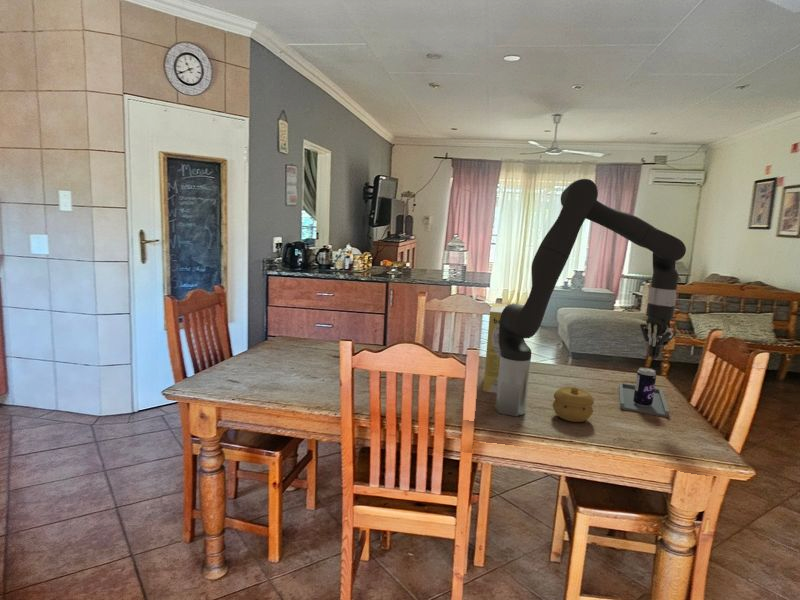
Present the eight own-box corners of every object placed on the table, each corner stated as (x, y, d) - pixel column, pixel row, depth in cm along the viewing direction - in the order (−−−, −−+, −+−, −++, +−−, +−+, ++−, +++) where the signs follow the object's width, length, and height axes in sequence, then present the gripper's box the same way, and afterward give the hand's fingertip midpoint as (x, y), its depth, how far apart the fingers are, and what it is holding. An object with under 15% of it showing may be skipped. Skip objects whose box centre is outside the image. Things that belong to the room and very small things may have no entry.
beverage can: (641, 408, 164) (646, 372, 162) (629, 402, 169) (633, 367, 167) (655, 407, 165) (660, 372, 163) (643, 401, 171) (647, 367, 169)
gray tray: (668, 417, 159) (669, 411, 159) (619, 408, 164) (620, 403, 164) (660, 394, 181) (661, 389, 181) (618, 387, 186) (619, 382, 186)
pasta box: (486, 375, 192) (492, 303, 187) (514, 379, 189) (521, 305, 185) (483, 391, 174) (490, 311, 169) (514, 395, 172) (522, 314, 167)
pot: (598, 419, 154) (602, 388, 153) (581, 430, 146) (585, 397, 144) (561, 408, 162) (565, 378, 160) (544, 417, 154) (547, 386, 152)
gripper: (636, 299, 161) (628, 351, 164) (666, 306, 148) (658, 363, 151) (656, 299, 163) (648, 351, 166) (688, 307, 150) (679, 363, 153)
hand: (653, 357), depth 158 cm, fingers closed
